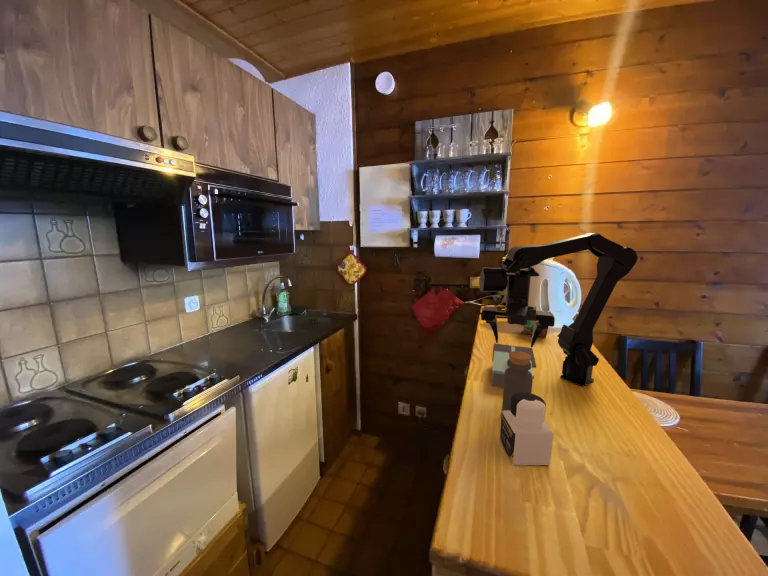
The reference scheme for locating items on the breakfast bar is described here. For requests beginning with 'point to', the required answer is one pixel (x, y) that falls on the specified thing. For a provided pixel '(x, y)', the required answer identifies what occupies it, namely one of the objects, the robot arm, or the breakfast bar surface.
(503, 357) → the lid
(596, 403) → the breakfast bar surface
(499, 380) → the tub
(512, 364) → the bottle
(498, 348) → the mat
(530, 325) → the food container
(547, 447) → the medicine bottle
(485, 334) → the breakfast bar surface
